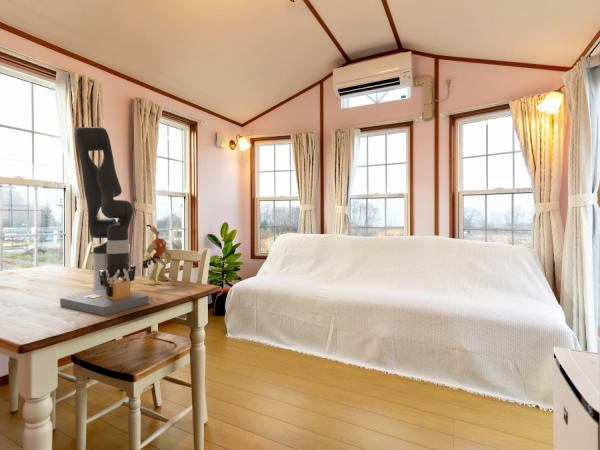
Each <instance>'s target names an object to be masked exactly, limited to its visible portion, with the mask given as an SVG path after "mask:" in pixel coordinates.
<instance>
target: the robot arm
mask: <svg viewBox="0 0 600 450" xmlns="http://www.w3.org/2000/svg"><path fill="white" fill-rule="evenodd" d="M74 132H75V133H74V135H75V141H76V147H77V151H78V155H79V156H78V157H79V160H80V165H81V174H82V183H83V190H84V195H85V200H86V206H87V217H88V221H87V222H88V231H89V235H90V237H91V238H92V239H93V238H94V239H107V240H106V241H105V242H104V243H102V244H99V245H96V246H94V247H93V250H92V251H93V253H92V254H93V255H92V256H93V263H92V264H93V291H97V290H102V289H106V294H107V295H108V297H112V296H113V287H112V285H113V283H114V281H117V280H120V279H121V280H125V281H130V283H131V282H134V281H135V277H136V268H137V266H136V265H129V263H130V244H129V227H130V223H131V220H132V217H133V212H134V209H133V205H132V203H131V201H128V200H123V199H120V200H119V199H114V198H117V197H118V196H120V195H121V194H122V186H121V184H120V181H119V178H118V175H117V172H116V166H115V160H114V154H113V149H112V145H111V141H110V137H109V133H108V131H107V130H106V129H105V128H104V127H100V126H79V127H76V128H75V131H74ZM93 151H102V152H103V156H102V161H101V163H100V165H99V167H98V166H97V165H96V163H94V161H93V160H92V158H91V156H90V154H89V152H93ZM100 209H101V210H100ZM100 211H101V213H102V215H103V216H104V217H98V213H99V212H100ZM116 219H117V220H116Z"/></svg>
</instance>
